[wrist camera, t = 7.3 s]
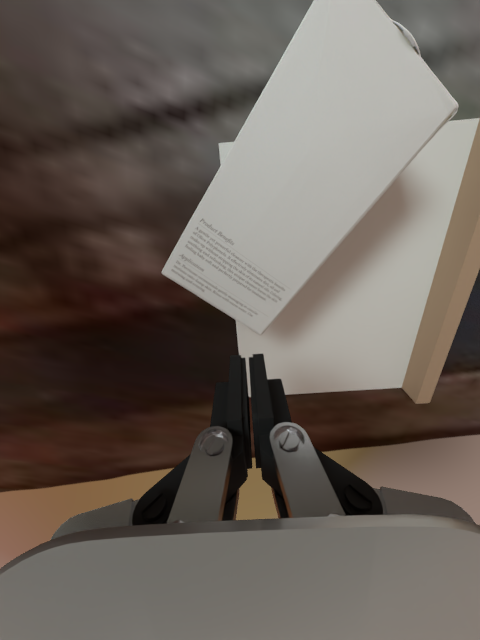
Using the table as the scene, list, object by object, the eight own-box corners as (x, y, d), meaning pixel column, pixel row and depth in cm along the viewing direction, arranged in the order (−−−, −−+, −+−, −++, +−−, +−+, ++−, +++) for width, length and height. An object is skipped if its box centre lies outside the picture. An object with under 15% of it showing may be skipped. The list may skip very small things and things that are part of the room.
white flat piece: (219, 145, 17) (215, 134, 15) (492, 119, 17) (541, 102, 14) (243, 393, 28) (243, 413, 25) (410, 383, 27) (429, 402, 24)
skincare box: (254, 306, 22) (388, 143, 17) (261, 342, 16) (472, 109, 11) (176, 251, 20) (303, 44, 15) (151, 271, 14) (349, -67, 9)
